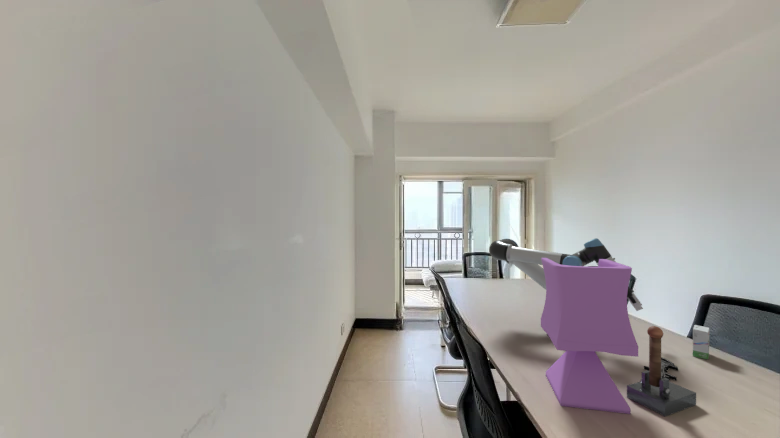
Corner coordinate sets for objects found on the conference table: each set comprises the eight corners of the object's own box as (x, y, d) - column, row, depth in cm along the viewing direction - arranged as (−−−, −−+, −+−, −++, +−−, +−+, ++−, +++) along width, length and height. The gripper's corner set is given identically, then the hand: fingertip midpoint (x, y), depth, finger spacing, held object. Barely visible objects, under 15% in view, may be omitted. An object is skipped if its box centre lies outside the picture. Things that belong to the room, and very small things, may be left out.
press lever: (666, 386, 103) (666, 327, 102) (658, 389, 101) (658, 329, 101) (652, 380, 106) (652, 323, 106) (644, 382, 105) (644, 325, 105)
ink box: (708, 360, 134) (708, 332, 134) (692, 356, 138) (692, 329, 138) (709, 353, 140) (709, 327, 140) (693, 350, 144) (694, 324, 143)
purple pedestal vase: (606, 380, 118) (606, 258, 118) (638, 417, 97) (638, 269, 96) (540, 373, 123) (540, 257, 123) (557, 407, 102) (557, 266, 101)
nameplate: (646, 353, 138) (678, 360, 131) (646, 357, 138) (678, 364, 131) (641, 378, 117) (677, 387, 111) (641, 382, 118) (677, 392, 111)
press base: (696, 405, 103) (696, 377, 103) (664, 416, 97) (665, 387, 97) (657, 387, 113) (657, 362, 113) (626, 397, 107) (626, 370, 107)
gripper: (616, 264, 147) (649, 307, 138) (618, 263, 167) (647, 301, 158) (600, 271, 150) (631, 314, 142) (604, 270, 170) (631, 307, 162)
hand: (639, 308), depth 150 cm, fingers open, 13 cm apart
